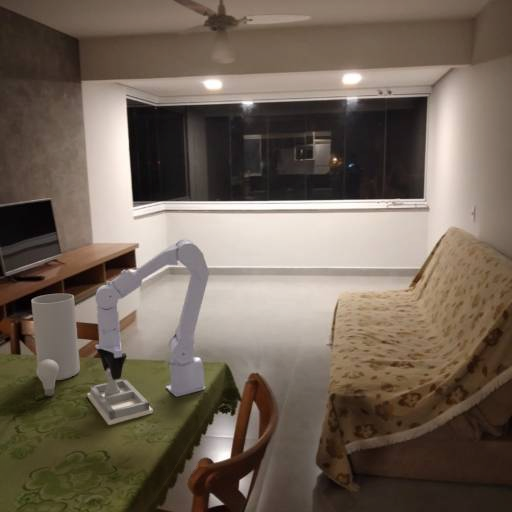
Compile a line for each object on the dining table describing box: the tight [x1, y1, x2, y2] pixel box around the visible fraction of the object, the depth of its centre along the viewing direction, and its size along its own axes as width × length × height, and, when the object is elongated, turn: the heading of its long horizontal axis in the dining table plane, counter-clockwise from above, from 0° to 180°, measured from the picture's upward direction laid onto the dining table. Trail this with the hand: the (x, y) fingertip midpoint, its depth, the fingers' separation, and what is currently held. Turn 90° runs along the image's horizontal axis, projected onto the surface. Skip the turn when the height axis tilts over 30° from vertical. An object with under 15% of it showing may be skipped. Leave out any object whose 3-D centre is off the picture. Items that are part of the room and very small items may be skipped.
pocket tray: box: [87, 378, 154, 426], centre depth 147 cm, size 12×21×3 cm, turn 32°
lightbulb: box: [36, 359, 59, 397], centre depth 153 cm, size 6×6×11 cm
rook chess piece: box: [105, 368, 121, 396], centre depth 150 cm, size 4×4×8 cm
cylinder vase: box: [31, 293, 81, 382], centre depth 168 cm, size 12×12×25 cm
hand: (112, 374), depth 150 cm, fingers open, 7 cm apart
